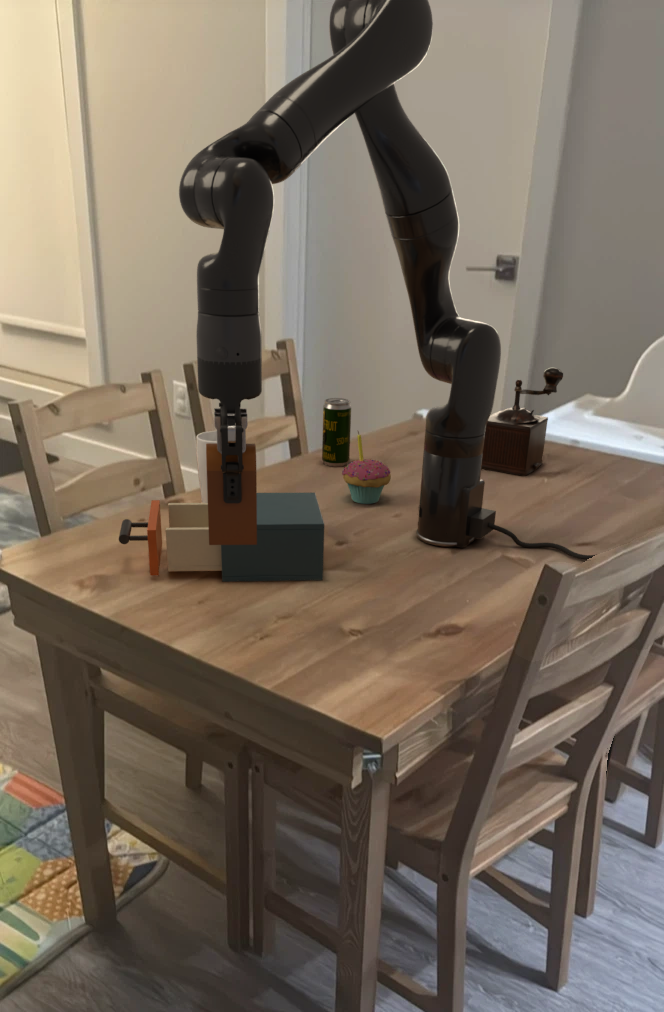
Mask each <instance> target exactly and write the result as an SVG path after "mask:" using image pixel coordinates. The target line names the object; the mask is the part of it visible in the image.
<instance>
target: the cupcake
mask: <svg viewBox="0 0 664 1012" xmlns="http://www.w3.org/2000/svg"><path fill="white" fill-rule="evenodd" d="M356 437H357V447H358V448H357V449H358V457H359V459H355V460H352V461H351V462H348V464H347V465H345V466H343V469H342V470H341V472H342V473H341V475H342V477H343V480H344V482H345V483H346V484H347V487H348V489H349V490H348V491H349V493H350V496H351V500H352V501H353V502H355V503H357V504H361V505H372V504H376V503H378V502H379V500H380V497H381V495H382V492H383V490H384V487H385V486H387V485H389V484H390V481H391V478H392V474H391V473H392V471H391V470H390V468H389V467H388V465H386V464H384V463H383V462H382V461H379V460H376V459H372V458H369V459H367V458H366V459H365V458H364V452H363V441H362V435H361V434H360V431H359V429H357V436H356Z"/></svg>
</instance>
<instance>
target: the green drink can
mask: <svg viewBox="0 0 664 1012" xmlns="http://www.w3.org/2000/svg"><path fill="white" fill-rule="evenodd" d="M351 427H352V405H351V400H350V399H348V398H344V397H329V398H326V399H324V404H323V406H322V441H321V442H322V444H321V447H322V449H321V460H322V462H323V464H324V465H325V466H328V467H334V468H341V467H346V466H347V464H348V465H349V463H350V452H351Z"/></svg>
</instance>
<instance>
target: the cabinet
mask: <svg viewBox="0 0 664 1012" xmlns="http://www.w3.org/2000/svg"><path fill="white" fill-rule="evenodd" d="M324 551H325V522H324V518H323V515H322V511H321V508H320V505H319V500H318V498H317V495H316V491H315V492H257V545H221V559H222V571H221V581H222V582H224V583H226V582H228V583H229V582H230V583H231V582H233V583H234V582H292V581H293V582H296V581H297V582H300V581H303V582H304V581H323V580H324V559H325V558H324V557H325V556H324V553H325V552H324Z"/></svg>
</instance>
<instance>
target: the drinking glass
mask: <svg viewBox="0 0 664 1012" xmlns="http://www.w3.org/2000/svg"><path fill="white" fill-rule="evenodd" d="M195 438H196V439H195V440H196V441H195V451H196V452H195V453H196V467H197V475H198V483H199V492H200V498H201V503H208V495H207V464H206V444H207V443H213V444H217V430H208V431H203V432H200V433H198V434H197V435H196V437H195Z"/></svg>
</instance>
